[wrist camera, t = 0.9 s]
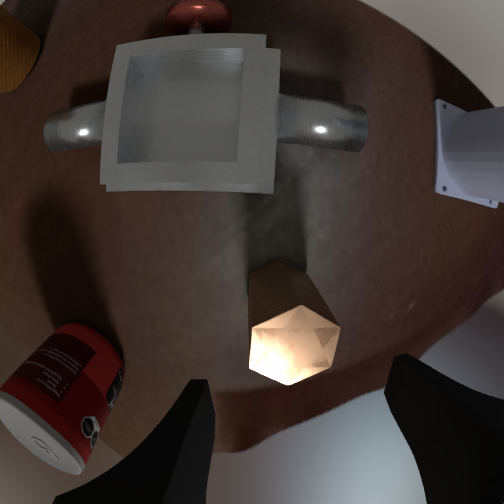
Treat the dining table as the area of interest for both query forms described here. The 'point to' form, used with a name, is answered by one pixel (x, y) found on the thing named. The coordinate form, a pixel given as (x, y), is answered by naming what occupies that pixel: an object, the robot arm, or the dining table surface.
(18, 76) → the disposable coffee cup
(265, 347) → the wooden hexagonal prism
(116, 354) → the canned food
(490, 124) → the robot arm
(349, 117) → the valve body
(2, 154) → the dining table surface
